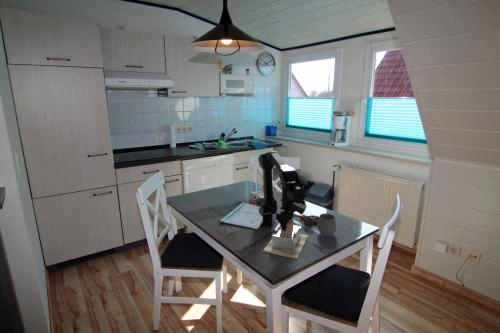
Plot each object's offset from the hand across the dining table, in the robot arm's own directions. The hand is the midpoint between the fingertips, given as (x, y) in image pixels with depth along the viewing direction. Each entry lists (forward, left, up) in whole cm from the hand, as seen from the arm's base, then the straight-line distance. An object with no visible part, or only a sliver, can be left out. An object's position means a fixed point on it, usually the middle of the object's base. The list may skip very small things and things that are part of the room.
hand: (287, 226), depth 140 cm
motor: (-2, 0, -8) cm, 8 cm away
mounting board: (0, 0, -9) cm, 9 cm away
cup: (-17, +16, -9) cm, 25 cm away
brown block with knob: (0, 0, -2) cm, 2 cm away
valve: (-30, +3, -10) cm, 32 cm away
